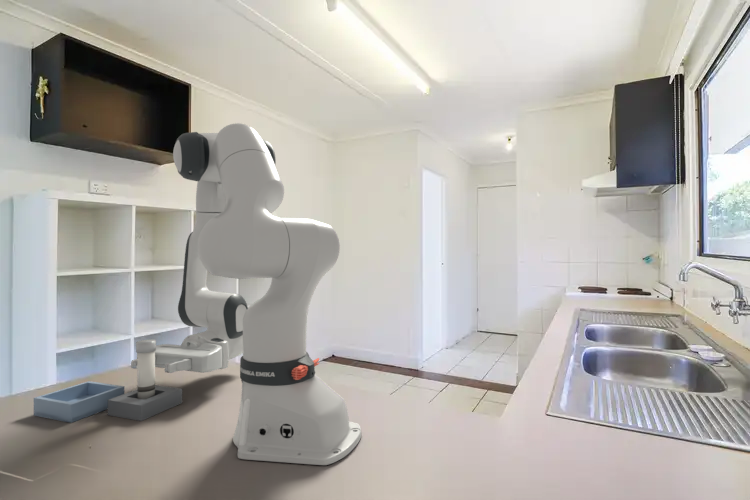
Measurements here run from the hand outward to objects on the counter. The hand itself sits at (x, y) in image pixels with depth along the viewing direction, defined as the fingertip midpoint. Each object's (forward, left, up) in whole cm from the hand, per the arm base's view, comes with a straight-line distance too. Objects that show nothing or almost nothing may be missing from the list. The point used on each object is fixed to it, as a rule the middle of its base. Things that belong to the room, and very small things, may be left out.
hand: (149, 366), depth 85 cm
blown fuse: (0, +1, -9) cm, 9 cm away
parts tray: (+13, +5, -8) cm, 16 cm away
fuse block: (0, +1, -8) cm, 9 cm away
